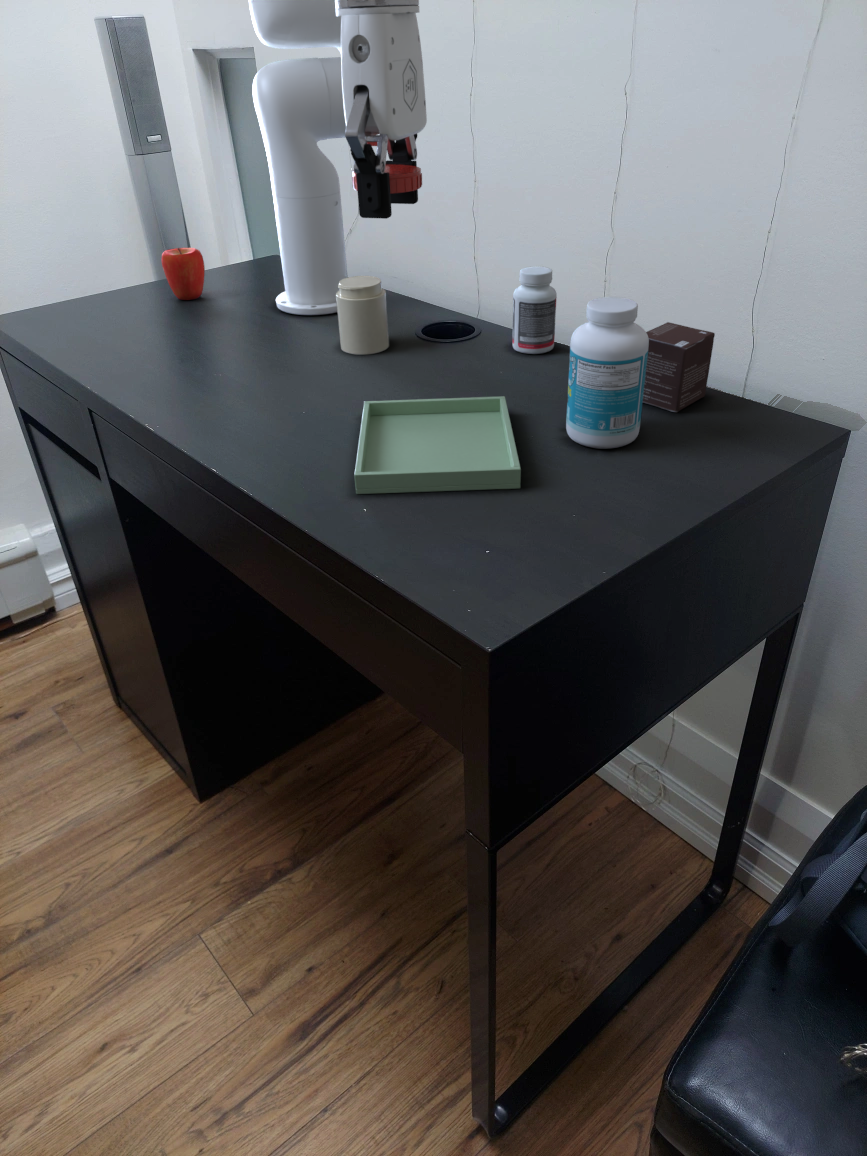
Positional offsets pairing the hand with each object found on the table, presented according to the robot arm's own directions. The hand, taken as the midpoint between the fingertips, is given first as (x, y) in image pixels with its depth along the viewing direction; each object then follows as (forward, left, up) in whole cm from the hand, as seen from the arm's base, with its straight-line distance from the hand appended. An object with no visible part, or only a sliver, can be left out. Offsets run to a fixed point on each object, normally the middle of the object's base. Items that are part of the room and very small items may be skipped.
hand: (389, 208), depth 85 cm
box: (+3, +30, -21) cm, 36 cm away
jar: (-18, -5, -20) cm, 28 cm away
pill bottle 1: (-15, +17, -21) cm, 31 cm away
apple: (-44, -34, -21) cm, 59 cm away
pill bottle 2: (+12, +21, -21) cm, 32 cm away
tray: (+14, +4, -20) cm, 25 cm away
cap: (0, 0, +3) cm, 3 cm away
